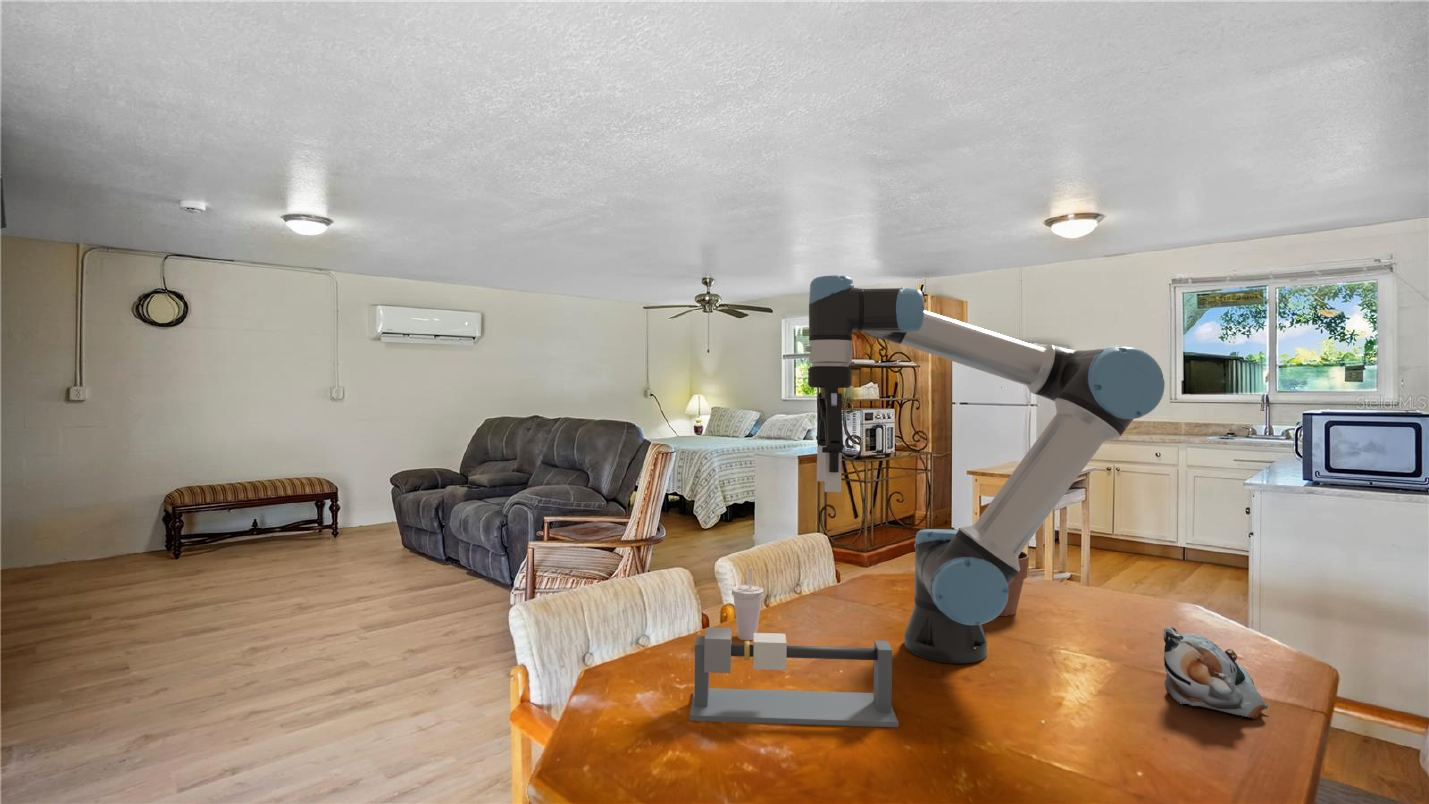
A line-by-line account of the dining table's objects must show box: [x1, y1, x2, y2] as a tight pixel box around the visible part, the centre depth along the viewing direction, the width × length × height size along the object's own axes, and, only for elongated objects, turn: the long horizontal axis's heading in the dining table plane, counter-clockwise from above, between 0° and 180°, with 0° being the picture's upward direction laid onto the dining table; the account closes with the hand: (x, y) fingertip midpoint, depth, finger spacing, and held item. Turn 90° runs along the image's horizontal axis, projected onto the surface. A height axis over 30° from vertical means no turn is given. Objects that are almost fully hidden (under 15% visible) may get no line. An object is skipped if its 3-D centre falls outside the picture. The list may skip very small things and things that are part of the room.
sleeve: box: [752, 632, 788, 671], centre depth 113 cm, size 5×4×4 cm
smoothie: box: [731, 566, 764, 641], centre depth 146 cm, size 6×6×14 cm
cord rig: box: [689, 626, 900, 728], centre depth 113 cm, size 31×10×12 cm, turn 87°
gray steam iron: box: [1163, 626, 1269, 719], centre depth 116 cm, size 15×12×14 cm
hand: (828, 486), depth 128 cm, fingers open, 13 cm apart
